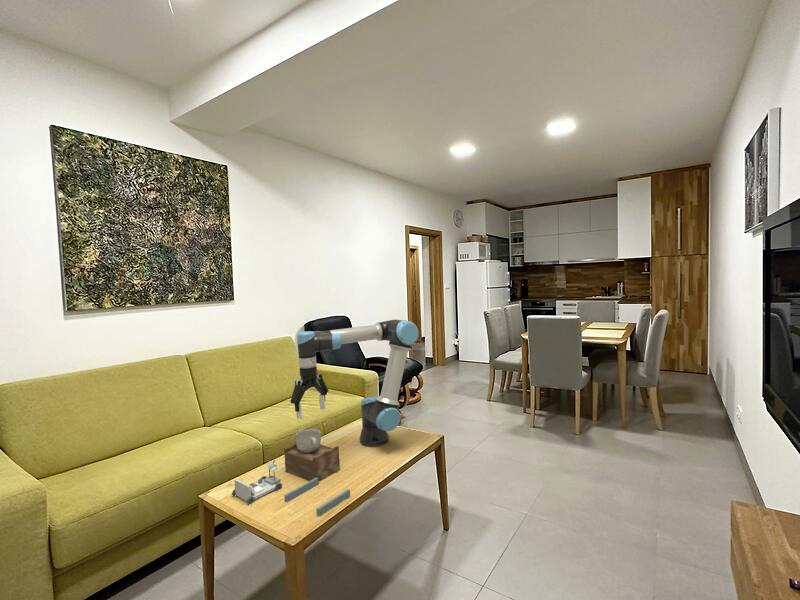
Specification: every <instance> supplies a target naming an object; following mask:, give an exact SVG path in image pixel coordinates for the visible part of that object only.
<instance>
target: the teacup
mask: <svg viewBox="0 0 800 600" xmlns="http://www.w3.org/2000/svg"><path fill="white" fill-rule="evenodd" d="M321 434H322V431H321V430H319V429H315V428H314V429H312V428H311V429H303V430H300V431H297V432H296V433H295V437H296V438H295V439H296V443H297V448H298V449H299V450H300V451H301V452H304V453H310V452H314V451H316V450H317V449H318V448H319V446H320V445H321V442H322V441H321V440H322V437H321V436H322V435H321ZM296 443H295V444H296Z"/></svg>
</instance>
